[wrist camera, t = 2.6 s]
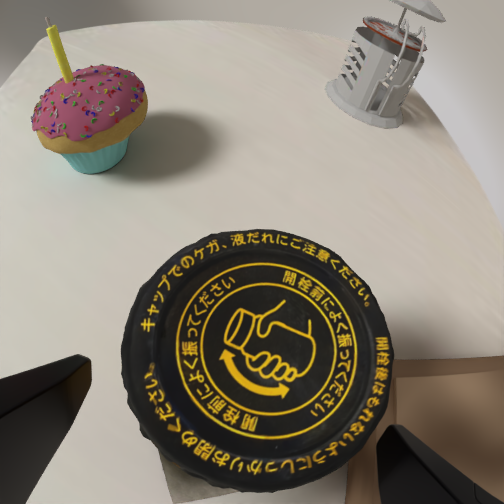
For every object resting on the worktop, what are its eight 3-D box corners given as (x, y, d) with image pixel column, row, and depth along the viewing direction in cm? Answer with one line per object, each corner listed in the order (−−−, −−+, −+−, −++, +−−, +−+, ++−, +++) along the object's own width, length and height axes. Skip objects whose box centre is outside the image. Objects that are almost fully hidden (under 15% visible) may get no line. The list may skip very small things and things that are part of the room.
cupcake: (36, 194, 20) (-18, 55, 10) (68, 123, 24) (45, 4, 14) (143, 191, 21) (127, 25, 11) (158, 118, 26) (157, -13, 15)
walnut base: (483, 513, 12) (514, 515, 9) (337, 559, 11) (362, 578, 8) (486, 366, 18) (517, 353, 15) (351, 370, 17) (379, 358, 14)
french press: (395, 95, 35) (465, -62, 14) (413, 150, 29) (518, -49, 8) (324, 71, 35) (380, -102, 14) (325, 120, 29) (409, -114, 8)
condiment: (269, 328, 18) (363, 181, 8) (310, 470, 14) (479, 505, 4) (138, 351, 16) (51, 217, 6) (173, 502, 12) (131, 628, 2)
